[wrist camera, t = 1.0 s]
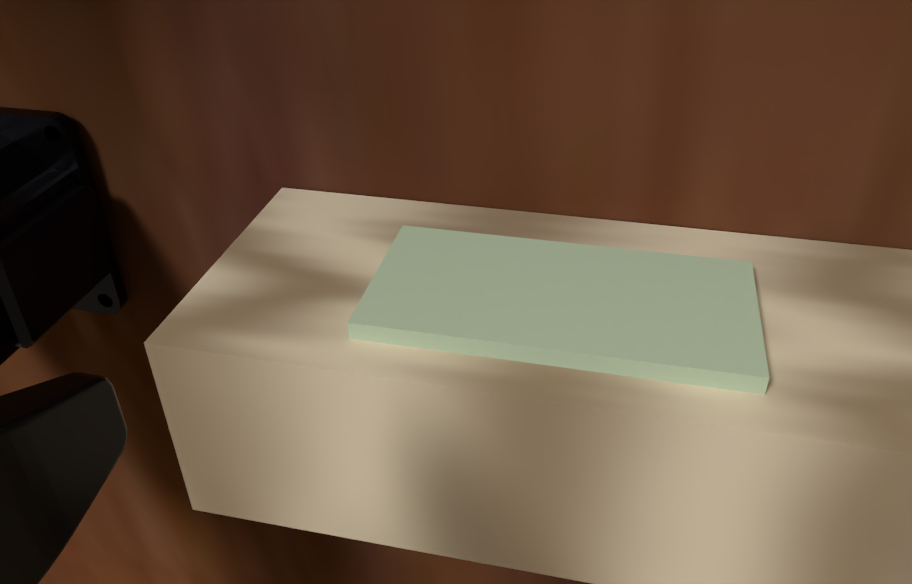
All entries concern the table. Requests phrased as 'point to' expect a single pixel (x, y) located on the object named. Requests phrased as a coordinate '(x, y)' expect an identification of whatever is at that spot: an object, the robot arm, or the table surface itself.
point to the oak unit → (551, 392)
